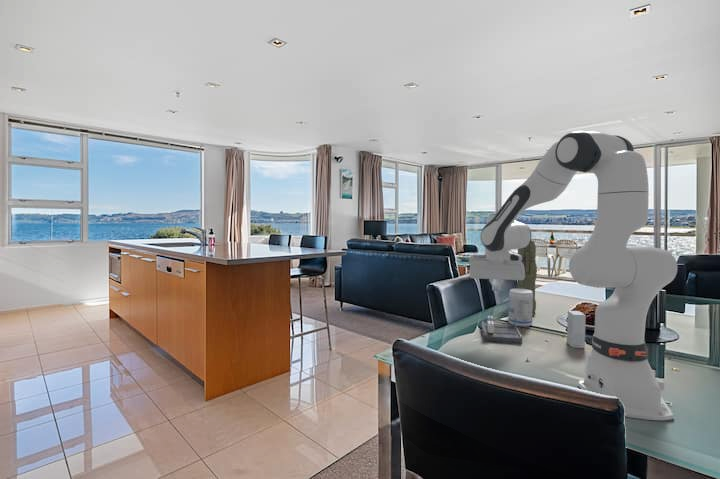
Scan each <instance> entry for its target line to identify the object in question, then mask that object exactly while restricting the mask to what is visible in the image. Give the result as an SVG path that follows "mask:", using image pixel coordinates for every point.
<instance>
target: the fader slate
mask: <svg viewBox="0 0 720 479" xmlns="http://www.w3.org/2000/svg"><path fill="white" fill-rule="evenodd" d="M488 321H493V322H494V316H493V315H491V314H490V315H487V321H486V323H487V325H488Z"/></svg>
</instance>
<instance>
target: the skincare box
mask: <svg viewBox="0 0 720 479" xmlns="http://www.w3.org/2000/svg"><path fill="white" fill-rule="evenodd" d="M586 316H587V315H586V314H584V313H582V312H581V311H580V310H567V326H566V329H567V330H566V343H567V344H568V345H569V346H570V347H571V348H574V349H575V348H578V349H579V348H580V349H585V347H586V345H585V344H586V321H587V320H586V319H587V318H586Z"/></svg>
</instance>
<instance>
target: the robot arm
mask: <svg viewBox="0 0 720 479" xmlns="http://www.w3.org/2000/svg"><path fill="white" fill-rule="evenodd" d="M578 172H580V173H592V174H593V175H595V176H596V179H597V204H596V219H595V220H596V221H595V225H594V228H593V231H592V233H591V234H590V237H589V238H588V239H587V240H586V242H585V243H584V244H583V245H582V246H581V247H580V248H578V249H577V250H575V251H574V252H573V253H572V255H571V257H570V259H569V264H568V268H569V273H570V276H571V277H572V278H573V280H574V281H575V282H576V283H577V284H579V285H582V286H586V287H590V288H591V287H593V288H598V289H599V288H600V289H604V288H605V289H606V288H607V289H609V288H610V289H611V288H614V290H613V292H612V294H611V295H610V296H609V297H608V298H607V299H605V300H603V301H601V302H600V303H599V304H598V305H597V307H595V312H594V333H593V334H592V336H591V337H592V339H591V348H592V350H591V351H590V352H589V353H588V355H587V356H585V363H584V372H583V373H584V374H583V379H581V380H579V381H577V387H579V388H580V389H581V390H582V389H584V390H588V391H592V392H596V393H600V394H605V395H610V396H616V397H618V398H620V400H621V401H622V402H623V404H624V406H625V413H626V415H625V416H624V417H628V418H632V419H633V418H634V419H639V420H640V419H642V420H650V421H670V420H673V419H674V413H673V412H672V411H671V409H670V407H669V405H668V404H667V403H666V401H665V399H664V398H663V397H662V391H664V390H665V382H664V381H663V380H659V379H657V378H656V375H657V373H656V370H654V369H652V367H651V365H650V363H649V361H648V358H649V355H648V347H647V343H646V341H645V336H646V335H645V332H646V322H647V315H648V311H649V309H650V306H651V304H652V302H653V301H654V299H655V297H656V296H657V295H658V293H659V292H660V291H661V290H662V289H663V288H664V287H666V286H667V285H669V284H670V283H672V281H674V279H676V276H677V273H678V264H677V263H678V262H677V260H676V258H675V257H674V255H673V254H672V253H671V252H670V251H668V250H666V249H663V248H660V247H659V248H658V247H655V246H654V247H653V246H648V245H645V246H644V245H642V246H641V245H638V246H637V245H628V242H629V239H630V238H631V236H632V235H633V234H634V233H635V232H637V231H638V230H641V229H643V227H645V226H646V225H647V223H648V221H649V196H650V195H649V188H650V187H649V177H648V169H647V164H646V161H645V158H644V156H643V155H642V154H641V153H639V152H637V151H635V150H634V146H633V143H631V141H629V140H628V139H627V138H625V137H623V136H620V135H612V134H608V133H604V132H602V131H601V132H600V131H584V130H577V131H572V132H568V133H565V135H563V136H562V137H561V138H560V139H559V141H556V142H555V143H553V144H552V145H551V147H549V148H548V150H547V151H546V152H545V153H544V155H543V156H542V157H541V159H540V160H539V161H538V164H537V165H536V167H535V169H534V170H533V171H532V172H531V174H530V176H529V177H528V178H527V179H526V180H525V181H524V182H523V183H522V184H520V185H519V186H518V187H516V188H515V190H514V191H513V192H512V193H511V194H510V196H508V198H506V201H505V202H504V204H503V205H502V206H501V208H500V209H498V212H496V213H491V214H490V215H488V216H487V219H486V223H485V225H484V226H483V228H482V230H481V232H480V241H481V244H482V245H483V247H484V254H473V255H471V256H470V257H469V258H468V264H469V266H470V267H469V277H470V278H471V279H478V280H479V279H480V280H481V279H484V280H489V283H490V285H491V290H492V291H496V292H497V291H498V292H500V291H501V287H502V285H503V284H504V281H506V280H507V281H508V280H510V281H517V280H524V278H525V269H524V265H523V263H522V262H521V261H522V256H521V255H519V254H518V252H517V253H516V252H514V251H510V250H518V249H521V248H525V247H527V246H528V245H529V243H530V241H532V231H531V228H530V226H528V225H527V224H526V223H523V222H520V221H518V220H516V219H517V218H518V217H519V216H520V214H522V212H524V211H525V210H526V209H529V208H531V207H534V206H538V205H540V204H545V203H547V202H551V201H554V200H556V199H557V198H558V197H560V195H562V193H563V192H564V191H565V190H566V188H567V187H568V186H569V184H570V182H571V181H572V180H573V177H575V175H576V173H578ZM495 280H499V283H498V285H495V284H494V283H493V282H494V281H495Z"/></svg>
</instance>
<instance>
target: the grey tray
mask: <svg viewBox="0 0 720 479" xmlns="http://www.w3.org/2000/svg"><path fill="white" fill-rule="evenodd" d="M493 323H494V322H493ZM487 329H488V325H487V322H484V321H483V320H482V321H481V330H482V335H483V338H484V339H483V340H484V342H491V343H503V344H516V345H519V344H520V345H523V335H522V333H521V332H520V331H519V328H518V326H516V325H515V323H513V325H512V324H510V323H494V333H488V330H487Z"/></svg>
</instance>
